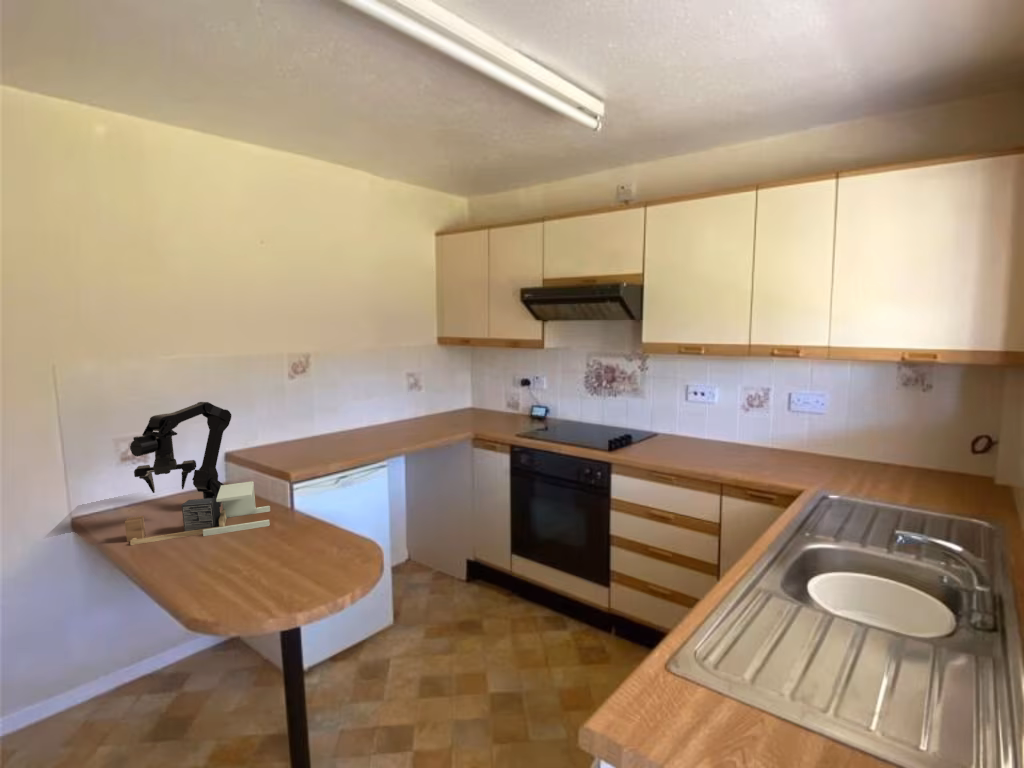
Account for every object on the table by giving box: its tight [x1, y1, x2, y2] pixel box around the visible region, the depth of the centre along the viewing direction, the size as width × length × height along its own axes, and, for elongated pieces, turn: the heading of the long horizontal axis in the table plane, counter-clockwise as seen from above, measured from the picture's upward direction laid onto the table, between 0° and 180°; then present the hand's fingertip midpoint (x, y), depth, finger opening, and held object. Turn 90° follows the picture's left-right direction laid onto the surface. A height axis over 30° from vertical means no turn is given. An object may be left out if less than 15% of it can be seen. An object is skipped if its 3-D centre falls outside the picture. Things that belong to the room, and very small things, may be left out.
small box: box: [180, 498, 221, 532], centre depth 195 cm, size 11×6×10 cm, turn 99°
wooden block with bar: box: [124, 509, 227, 546], centre depth 193 cm, size 12×29×7 cm, turn 113°
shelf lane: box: [202, 480, 271, 537], centre depth 200 cm, size 17×21×12 cm
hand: (168, 490), depth 201 cm, fingers open, 9 cm apart
